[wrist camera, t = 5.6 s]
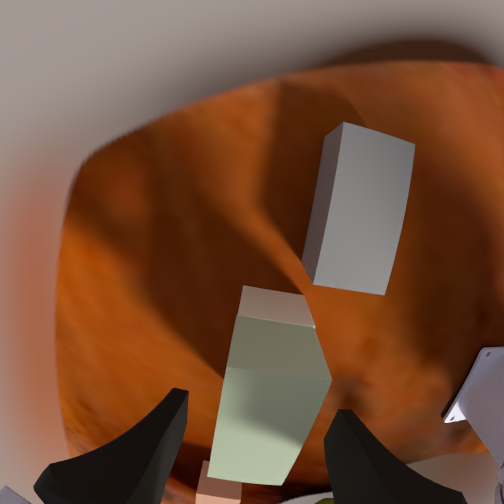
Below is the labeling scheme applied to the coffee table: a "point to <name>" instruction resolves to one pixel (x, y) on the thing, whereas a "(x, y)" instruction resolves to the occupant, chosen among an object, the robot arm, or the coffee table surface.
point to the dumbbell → (326, 501)
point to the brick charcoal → (358, 209)
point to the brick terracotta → (217, 489)
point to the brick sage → (267, 400)
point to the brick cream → (275, 306)
